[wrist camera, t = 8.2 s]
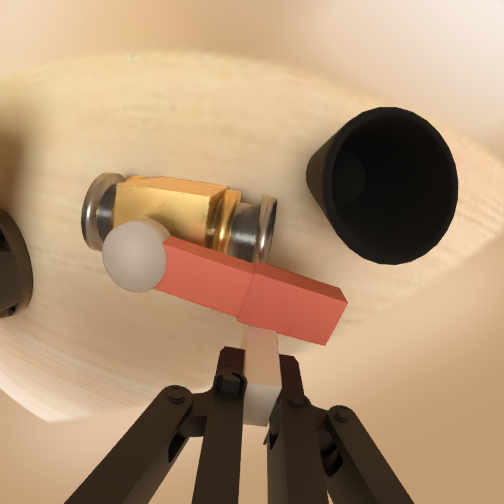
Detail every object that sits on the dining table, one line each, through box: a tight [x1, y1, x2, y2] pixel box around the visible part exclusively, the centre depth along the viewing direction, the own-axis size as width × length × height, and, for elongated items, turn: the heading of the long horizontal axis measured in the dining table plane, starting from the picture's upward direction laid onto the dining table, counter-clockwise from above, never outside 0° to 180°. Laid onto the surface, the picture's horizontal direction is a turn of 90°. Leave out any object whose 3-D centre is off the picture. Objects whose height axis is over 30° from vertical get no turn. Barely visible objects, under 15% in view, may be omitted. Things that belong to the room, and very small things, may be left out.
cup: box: [306, 107, 458, 265], centre depth 17 cm, size 8×8×12 cm
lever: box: [102, 217, 348, 346], centre depth 14 cm, size 13×4×2 cm, turn 71°
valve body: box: [81, 173, 277, 291], centre depth 20 cm, size 14×7×10 cm, turn 79°
